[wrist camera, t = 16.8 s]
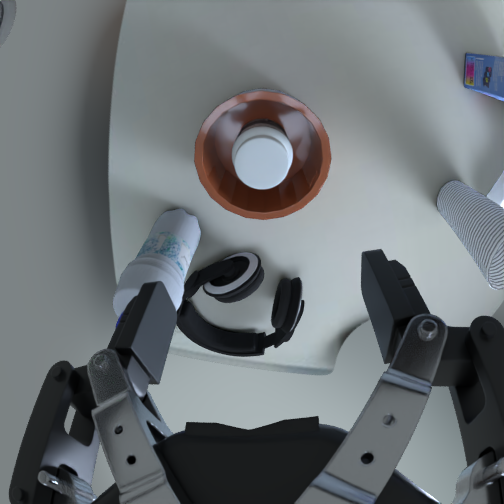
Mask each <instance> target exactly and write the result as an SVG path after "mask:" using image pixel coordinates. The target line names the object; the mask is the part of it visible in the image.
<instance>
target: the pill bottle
mask: <svg viewBox="0 0 504 504" xmlns="http://www.w3.org/2000/svg"><path fill="white" fill-rule="evenodd" d="M292 160H293V149H292V145H291V143H290V141H289V138H288V136H287V134H286V132H285V130H284V129H283V128H282V126H281V125H280V124H278V123H277V122H275V121H274V120H271V119H267V118H258V119H254V120H251V121H250V122H248V123H246V124H245V125H244V126H243V127H242V129H241V130H240V132H239V134H238V136H237V138H236V140H235V142H234V145H233V148H232V162H233V165H234V167H235V171H236V173H237V175H238V177H239V178H240V180H241V181H242V182H243V183H245V184H246V185H248V186H250V187H252V188H255V189H269V188H272V187H274V186H276V185H278V184H279V183H281V182H282V181H283V180H284V178H285V177H286V175H287V173H288V170H289V168H290V166H291V164H292Z"/></svg>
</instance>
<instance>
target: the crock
mask: <svg viewBox="0 0 504 504" xmlns="http://www.w3.org/2000/svg"><path fill="white" fill-rule="evenodd" d="M258 118H267V119H271V120H274V121H275V122H277V123H278V124H280V125H281V126H282V128H283V129H284V130H285V132H286V134H287V136H288V138H289V141H290V143H291V145H292V149H293V160H292V164H291V166H290V168H289V170H288V173H287V175H286V177H285V178H284V180H283V181H282V182H281V183H279V184H278V185H276V186H274V187H272V188H269V189H255V188H252V187H250V186H248V185H246V184H245V183H243V182H242V181H241V180H240V178H239V177H238V175H237V173H236V171H235V167H234V165H233V162H232V148H233V145H234V142H235V140H236V138H237V136H238V134H239V132H240V130H241V129H242V127H243V126H244V125H245V124H246V123H248V122H250V121H251V120H254V119H258ZM194 162H195V166H196V169H197V173H198V176H199V180H200V182H201V184H202V185H203V186H204V188H205V189H206V191H207V192H208V194H209V195H210V197H211V198H212V199H213V200H215V201H216V202H217V203H218V204H220V205H221V206H222V207H223V208H225V209H226V210H228V211H230V212H233V213H235V214H238V215H240V216H242V217H245V218H253V219H261V220H266V219H273V218H279V217H284V216H287V215H289V214H291V213H293V212H296V211H298V210H300V209H302V208H303V207H304V206H305V205H307V204H308V203H309V202H310V201H311V200H312V199H313V198H314V197H315V196H316V195H318V193H319V191H320V190H321V188H322V186H323V185H324V183H325V181H326V179H327V177H328V172H329V168H330V163H331V151H330V143H329V137H328V135H327V133H326V131H325V129H324V127H323V125H322V123H321V121H320V119H319V118H318V117H317V116H316V115H315V114H314V113H313V112H312V111H311V110H310V109H309V108H308V107H307V106H306V105H305V104H303V103H302V102H300V101H299V100H297V99H296V98H294V97H292V96H290V95H288V94H286V93H284V92H281V91H279V90H273V89H265V88H258V89H252V90H247V91H243V92H241V93H239V94H237V95H235V96H234V97H232V98H230V99H228V100H227V101H225V102H223V103H222V104H220V105H219V106H217V107H216V108H215V110H214V111H213V112H212V113H211V114H210V115H209V116H208V117H207V119H206V120H205V121H204V123H203V124H202V127H201V129H200V132H199V134H198V136H197V139H196V142H195V158H194Z"/></svg>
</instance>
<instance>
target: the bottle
mask: <svg viewBox="0 0 504 504" xmlns="http://www.w3.org/2000/svg"><path fill="white" fill-rule="evenodd" d="M200 238H201V230H200V228H199V225H198V220H197V218H196V217H195V216H194V215H192V216H191V215H189V214H188V213H186V212H185V210H184V209H176V210H173V211H166V212H164V213H163V214H162V215H161V216H160V217H159V218H158V219H157V221H156V222H155V224H154V226H153V228H152V230H151V232H150V234H149V236H148V238H147V240H146V241H145V243H144V245H143V246H142V248H141V250H140V251H139V253H138V255H137V257H136V258H135V260H133V261H132V262H130V263H129V264H128V266H127V267H126V269H125V270H124V271H123V273H122V274H121V277H120V281H119V283H118V286H117V289H116V292H115V295H114V298H113V307H114V310H115V312H116V314H117V316H118V317H119V319H118V321H117V324H116V327H117V325H118V323H120V319H121V316H122V315H123V312H124V310H125V308H126V306H127V304H128V303H129V302H130V301H131V300H132V299H133V297H134V296H137V295H138V293H139V291H140V289H141V287H142V285H143V283H147V282H154V281H162V282H163V283H164V285H165V287H166V289H167V291H168V293H169V295H170V298H171V300H172V302H173V304H174V306H175V308H176V311H177V310H178V308H179V306H180V305H181V302H182V296H183V293H184V280H185V277H186V274H187V271H188V268H189V265H190V262H191V259H192V257H193V255H194V253H195V251H196V249H197V247H198V244H199V241H200Z"/></svg>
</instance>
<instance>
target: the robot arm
mask: <svg viewBox="0 0 504 504" xmlns="http://www.w3.org/2000/svg"><path fill="white" fill-rule="evenodd" d="M3 14H4V8H3V4H2V2H1V1H0V27H1V24H2V20H3ZM361 290H362V295H363V299H364V302H365V305H366V308H367V311H368V313H369V316H370V319H371V322H372V325H373V328H374V332H375V335H376V338H377V341H378V344H379V347H380V350H381V354H382V357H383V361H384V364H387V363H390V365H389V367H388V369H387V371H386V372H384V373H383V374H382V376H381V378H380V380H379V381H378V384H377V385H376V387H375V389H374V391H373V393H372V394H371V397H370V398H369V400H368V402H367V403H366V405H365V407H364V409H363V410H362V412H361V414H360V415H359V417H358V419H357V420H356V422H355V423H354V425H353V427H352V428H351V430H350V431H349V432H348V431H346V430H343V429H341V428H338V427H335V426H330V425H325V424H319V418H318V416H315V417H308V418H299V419H289V420H282V421H279V422H276V423H273V424H269V425H266V426H262V427H259V428H255V429H251V430H247V429H241V428H236V427H232V426H228V425H224V424H219V423H198V422H186V428H185V431H181V432H178V433H175V434H173V433H172V432H171V431H170V429H169V428H168V426H167V425H166V423H165V422H164V420H163V418H162V416H161V414H160V413H159V411H158V408H157V407H156V405H155V403H154V401H153V399H152V397H151V395H150V393H149V392H148V391H147V388H148V385H149V384H159V383H160V380H161V376H162V372H163V368H164V365H165V361H166V357H167V354H168V350H169V347H170V343H171V339H172V336H173V332H174V329H175V326H176V322H177V311H176V308H175V306H174V304H173V302H172V300H171V298H170V295H169V293H168V291H167V289H166V287H165V285H164V283H163V282H162V281H154V282H147V283H143V285H142V287H141V289H140V291H139V293H138V295H137V296H134V297H133V299H132V300H131V301H130V302H129V303H128V304H127V306H126V308H125V310H124V312H123V315H122V316H121V319H120V323H118V325H117V327H116V329H115V332H114V334H113V336H112V338H111V341H110V343H109V345H108V348H107V349H103V350H100V351H98V352H97V353H95V354H94V355H93V356H92V357H91V359H90V360H89V363H88V365H86V366H82V367H78V368H74V367H73V366H72V365H71V364H70V363H69V362H68V361H60V362H57V363H56V364H55V365H53V366H52V367H51V369H50V370H49V372H48V374H47V376H46V379H45V381H44V383H43V385H42V388H41V390H40V393H39V396H38V398H37V401H36V403H35V406H34V408H33V412H32V414H31V417H30V420H29V422H28V425H27V428H26V431H25V434H24V437H23V440H22V443H21V447H20V450H19V453H18V457H17V460H16V464H15V468H14V472H13V476H12V480H11V484H10V488H9V499H10V502H11V504H441V503H440V502H438V501H437V500H436V499H434V498H433V497H432V496H430V495H429V494H428V493H426V492H425V491H424V490H422V489H421V488H420V487H418V486H417V485H416V484H414V483H413V482H412V481H410V480H409V479H408V478H406V477H405V476H404V475H402V474H401V473H400V472H399V471H398V470H396V469H395V468H396V466H397V464H398V462H399V460H400V459H401V457H402V455H403V453H404V451H405V449H406V447H407V445H408V443H409V441H410V439H411V437H412V435H413V433H414V431H415V428H416V426H417V424H418V422H419V419H420V417H421V415H422V413H423V410H424V408H425V405H426V403H427V400H428V398H429V395H430V392H431V389H432V387H431V386H448V387H449V390H450V393H451V397H452V400H453V404H454V408H455V411H456V415H457V419H458V423H459V428H460V432H461V436H462V440H463V445H464V451H465V456H466V461H467V467H466V468H465V469H464V470H463V471H462V472H461V474H460V475H459V477H458V480H457V484H456V494H455V498H454V500H453V502H452V503H451V504H504V328H503V326H502V325H501V323H500V322H499V321H498V320H496V319H495V318H493V317H490V316H480V317H477V318H475V319H474V320H473V322H472V323H471V325H470V327H450V326H446V324H445V323H444V321H443V320H442V319H440V318H439V317H437V316H435V315H432V314H430V312H429V310H428V308H427V306H426V304H425V302H424V300H423V298H422V296H421V295H420V293H419V291H418V289H417V287H416V286H415V284H414V282H413V280H412V278H410V275H409V273H408V271H407V270H406V268H405V267H404V266H403V265H402V264H400V263H399V262H398V261H396V260H391V261H388V260H387V258H386V256H385V254H384V252H383V251H382V250H381V249H377V250H371V251H365V252H362V261H361ZM70 405H71V406H72V407H73V408H74V409H75V410H76V412H75V415H74V419H73V422H72V425H71V429H70V432H69V435H68V434H67V433H66V431H65V428H64V422H65V419H66V416H67V412H68V409H69V406H70ZM100 442H101V445H102V448H103V451H104V454H105V456H106V459H107V462H108V464H109V467H110V469H111V472H112V474H113V476H114V479H115V481H116V482H115V483H114V484H113V485H112V486H111V487H110V488H108V489H107V490H106V491H105V492H104V493H102V494H101V495H100V496H99V497H98V498H97V496H96V495H95V494H93V490H92V488H91V483H92V478H93V472H94V468H95V463H96V457H97V453H98V449H99V444H100Z"/></svg>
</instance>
